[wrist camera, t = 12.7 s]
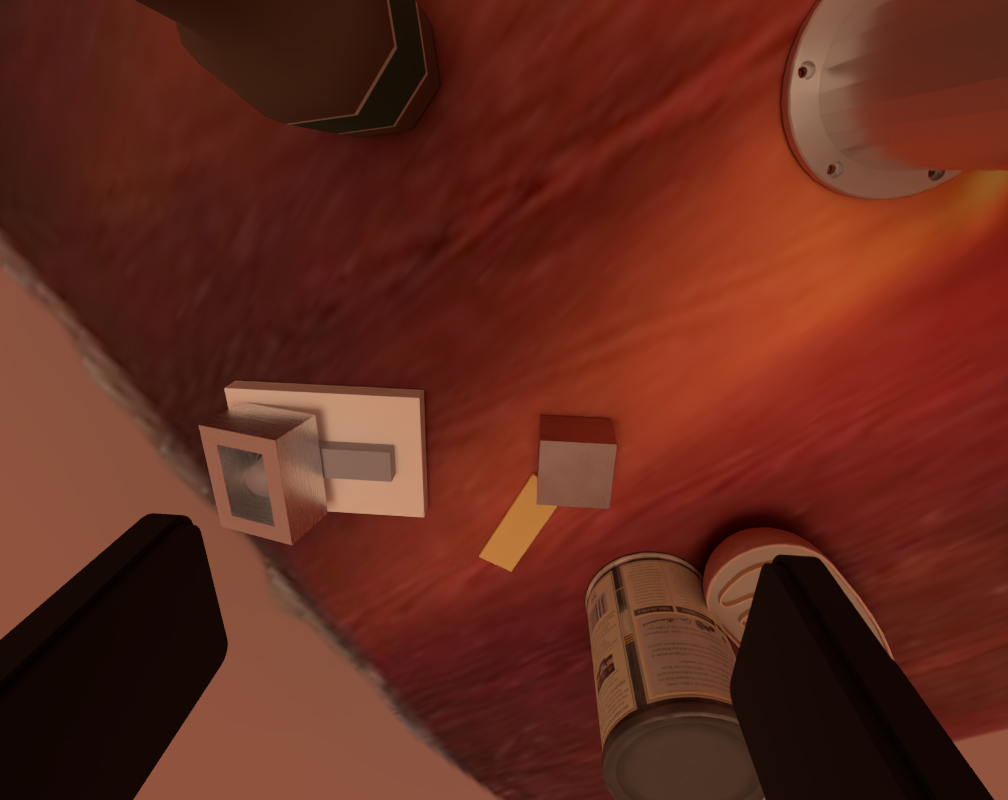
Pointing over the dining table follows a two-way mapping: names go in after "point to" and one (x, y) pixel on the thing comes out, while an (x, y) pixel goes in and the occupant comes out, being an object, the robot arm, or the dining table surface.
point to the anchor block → (575, 461)
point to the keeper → (354, 443)
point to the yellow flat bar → (517, 527)
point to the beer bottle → (316, 58)
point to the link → (266, 470)
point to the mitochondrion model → (739, 570)
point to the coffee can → (664, 685)
